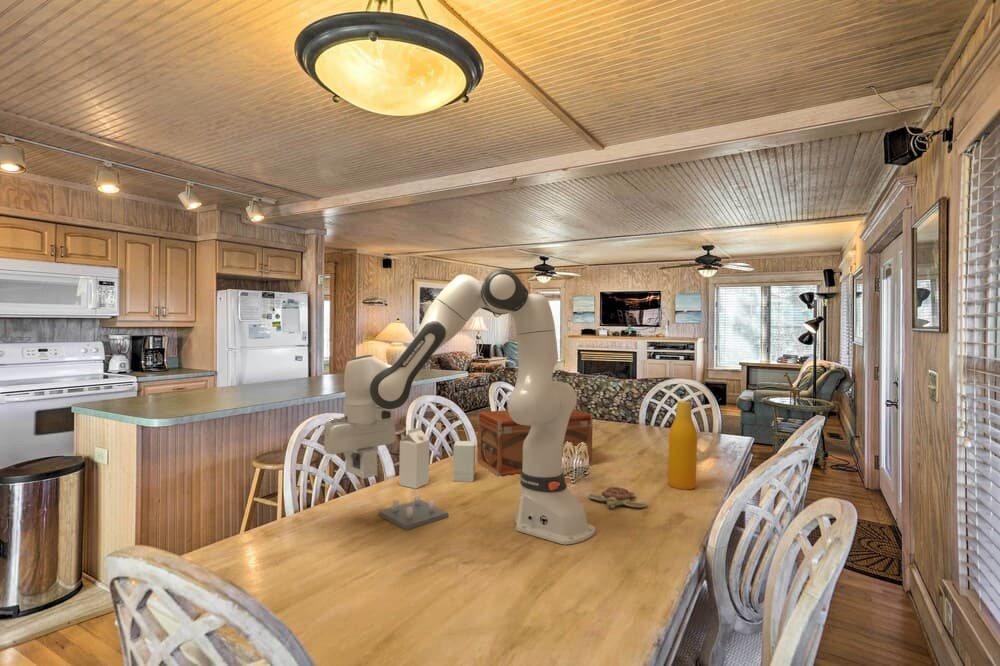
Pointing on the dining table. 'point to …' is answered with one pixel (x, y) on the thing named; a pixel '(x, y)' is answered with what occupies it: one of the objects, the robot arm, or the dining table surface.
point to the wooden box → (520, 440)
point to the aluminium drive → (364, 463)
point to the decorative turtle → (617, 497)
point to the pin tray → (413, 513)
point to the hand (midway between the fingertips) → (361, 464)
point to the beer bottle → (682, 449)
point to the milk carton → (414, 459)
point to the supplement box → (464, 461)
